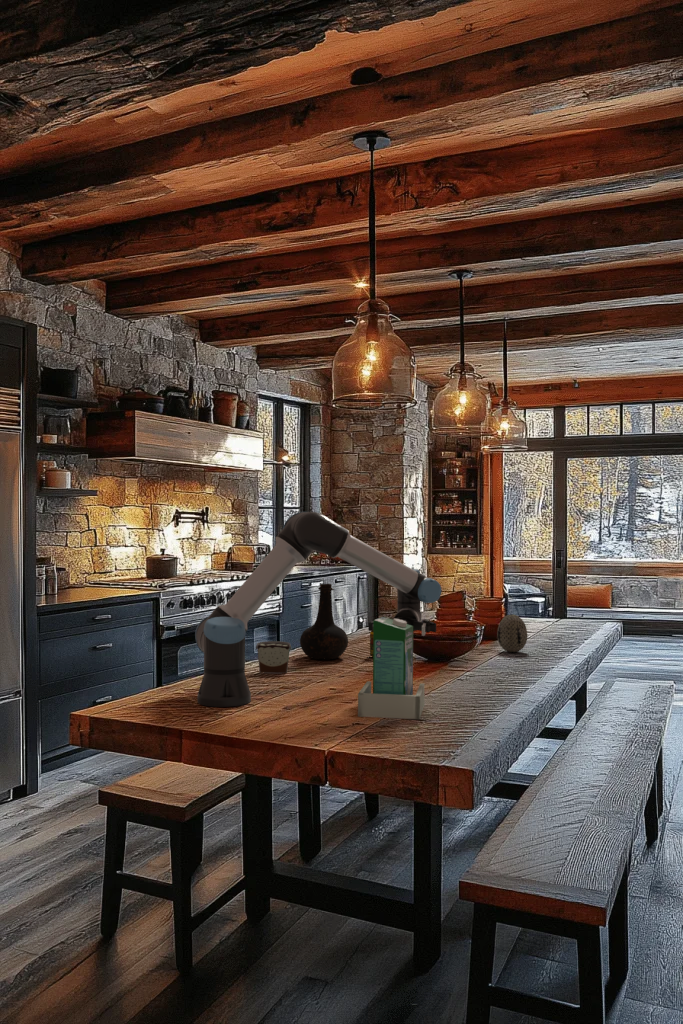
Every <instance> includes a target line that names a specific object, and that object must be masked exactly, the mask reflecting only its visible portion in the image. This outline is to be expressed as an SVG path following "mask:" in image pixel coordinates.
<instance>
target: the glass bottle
mask: <svg viewBox="0 0 683 1024" xmlns="http://www.w3.org/2000/svg"><path fill="white" fill-rule="evenodd" d="M332 585H333V584H332V583H320V584H319V587H318V590H319V601H318V608H317V614H316V620H315V622H314V623H313V624H312V625H311V626H309V627H307V628H306V629H305V630H304V631H302V633H301V635H300V638H299V645H300V648H301V650H302V652H303V653H304V654H305V655H306V656H307V657H309V658H311V659H315V660H319V659H322V660H323V661H329V660H330V659H332V660H336V659H338V658H340V657H341V656H342V655H343V654H344V653H345V652H346V650H347V647H348V646H349V645H348V644H349V638H348V634H347V633H346V631H345V630H344V629H343V628H341V627H340V626H338V625H336V623H335V620H334V614H333V600H332V599H333V598H332V591H333V590H335V588H334V587H332ZM322 660H321V661H322Z"/></svg>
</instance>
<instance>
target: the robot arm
mask: <svg viewBox="0 0 683 1024" xmlns="http://www.w3.org/2000/svg"><path fill="white" fill-rule="evenodd" d="M313 552H317V553H321V554H324V555H327V556H328V557H331V558H332V559H335V558H339V559H341V560H343V561H345V562H347V563H348V564H351V565H352V566H354V567H356V568H357V569H358V568H359V569H360V570H361V571H364V572H365V573H367V574H369V575H371V576H373V577H374V578H376V579H378V580H380V581H382V582H384V583H386V584H388V585H390V586H392V587H393V588H395V589H397V592H396V593H397V595H396V596H397V604H396V605H397V607H396V608H397V610H396V611H397V613H396V614H395V615H394V617H393V618H391V619H392V620H393V619H400V620H404V621H406V622H407V624H408V625H411V626H413V633H414V632H415V631H420V632H421V636H423V637H424V636H426V633H430V632H431V633H432V632H433V633H436V632H437V623H436V622H432V621H430V620H427V619H425V618H424V619H422V611H421V606H422V605H421V603H424V604H433V603H435V602H437V601H438V600H439V599H440V598H441V595H442V590H443V589H442V586H441V584H440V582H439V581H437V579H436V580H435V579H434V578H431V577H427V576H425V575H424V574H421V571H420V570H419V569H417V568H411V567H410V566H407V565H405V564H403V563H402V562H400V561H398V560H396V559H394V558H393V557H391V556H389V555H387V554H385V553H384V552H382V551H380V550H379V549H377V548H374V547H373V546H371V545H369V544H367V543H366V542H364V541H362V540H360V539H359V538H356V537H354V536H353V535H351V534H350V531H349V529H347V528H345V527H344V526H342V525H340V524H339V523H337V522H336V521H334V520H333V519H331V518H329V517H328V516H326V515H325V514H323V513H320V512H317V511H299V512H296V513H294V514H292V515H291V516H289V517H288V518H287V519H286V520H285V522H284V525H283V527H282V530H281V531H280V532H279V533H278V534H277V535H276V537H275V545H274V546H273V548H272V549H271V550H270V551H269V553H268V554H266V556H265V557H264V559H263V560H262V561H261V562H260V563H259V565H257V567H256V568H255V569H254V570H253V572H251V574H250V575H249V576H248V577H247V578H246V580H245V581H244V582H243V583H242V585H241V586H240V587H239V588H238V589H237V591H236V592H235V593H234V594H233V595H232V597H230V599H229V600H228V601H227V602H226V603H225V604H220V605H217V606H216V608H215V609H214V610H213V611H212V612H211V613H210V615H208V616H206V617H204V618H203V619H202V620H201V621H200V622H199V623H198V624H197V627H196V628H195V633H194V636H195V644H196V646H197V648H198V649H199V651H200V652H202V653H203V677H202V679H201V683H200V686H199V689H198V692H197V696H196V697H197V698H196V699H197V704H199V705H202V706H204V707H205V706H206V707H213V708H214V707H215V708H216V707H218V708H225V707H226V708H227V707H228V708H229V707H238V706H243V705H247V704H249V703H250V702H251V701H252V697H251V696H252V694H251V691H250V686H249V683H248V680H247V677H246V663H245V662H246V634H247V631H248V623H249V621H250V620H251V619H252V617H253V616H254V615H255V614H256V612H257V611H258V610H259V609H260V608H261V606H262V605H263V604H264V603H265V602H266V600H267V599H268V598H269V597H270V595H271V594H272V593H273V592H274V591H275V590H276V589H277V587H278V586H279V585H280V584H281V583H282V581H283V580H285V578H286V576H288V574H289V573H290V572H291V571H292V569H293V568H294V567H295V566H296V564H298V563H303V562H305V561H306V560H307V559H308V558H309V557H310V556H311V555H312V553H313ZM367 623H368V625H367V627H368V630H367V631H369V632H371V631H372V630H373V621H368V622H367Z"/></svg>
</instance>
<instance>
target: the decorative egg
mask: <svg viewBox="0 0 683 1024" xmlns="http://www.w3.org/2000/svg"><path fill="white" fill-rule="evenodd" d="M496 634H497V635H496V637H497V642H498V644H499V646H500V647H501V648H502V649H503V650H505V651H506V652H507V653H512V652H513V653H519V652H520V651H522V649H524V647H525V646H526V644H527V642H528V629H527V625H526V624H525V622H524V620H523V618H521V617H520V616H518V615H516V614H511V613H510V614H507V615H505V616H504V617H503V618H502V619H501V620H500V622H499V624H498V627H497V633H496Z"/></svg>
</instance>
